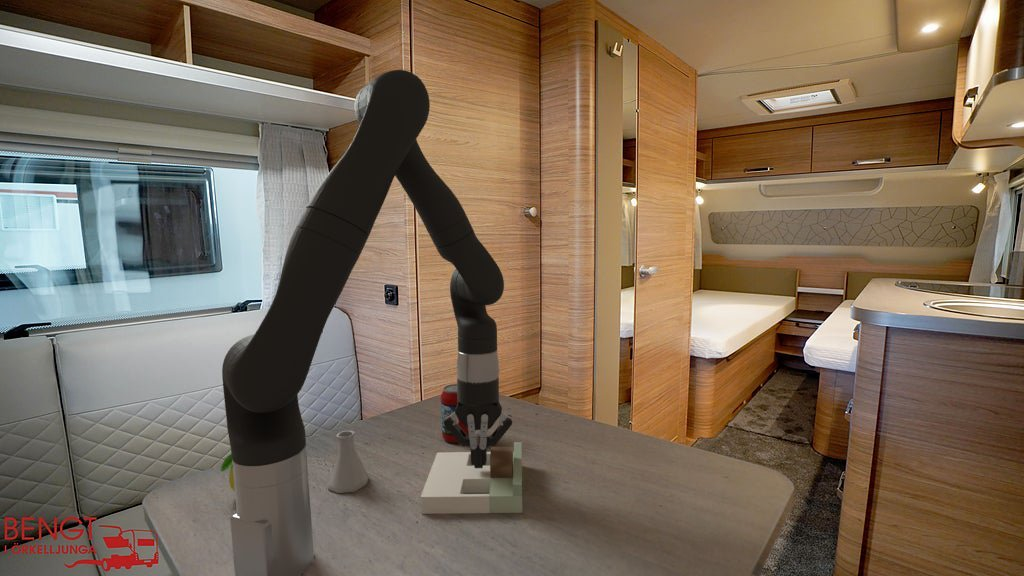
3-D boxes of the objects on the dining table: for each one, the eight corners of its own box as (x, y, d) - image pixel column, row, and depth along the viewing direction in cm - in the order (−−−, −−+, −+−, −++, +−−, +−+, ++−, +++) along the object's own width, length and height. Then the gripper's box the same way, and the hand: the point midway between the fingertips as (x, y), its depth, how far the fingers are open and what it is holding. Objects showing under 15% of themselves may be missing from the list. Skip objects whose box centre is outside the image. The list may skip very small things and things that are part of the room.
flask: (356, 496, 87) (353, 443, 86) (320, 492, 89) (316, 440, 87) (375, 476, 94) (372, 427, 93) (341, 473, 96) (338, 424, 94)
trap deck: (421, 513, 81) (419, 485, 81) (437, 466, 97) (436, 442, 97) (522, 512, 81) (521, 484, 80) (521, 465, 97) (521, 441, 97)
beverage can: (438, 435, 113) (436, 385, 111) (466, 430, 115) (464, 381, 114) (447, 447, 106) (445, 394, 105) (476, 440, 109) (474, 389, 108)
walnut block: (490, 478, 87) (489, 456, 86) (491, 467, 91) (491, 446, 90) (512, 477, 86) (512, 456, 86) (513, 467, 90) (512, 446, 90)
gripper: (437, 380, 83) (439, 476, 85) (514, 380, 83) (514, 476, 85) (444, 368, 91) (446, 457, 93) (514, 368, 90) (515, 457, 92)
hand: (479, 466), depth 89 cm, fingers closed
